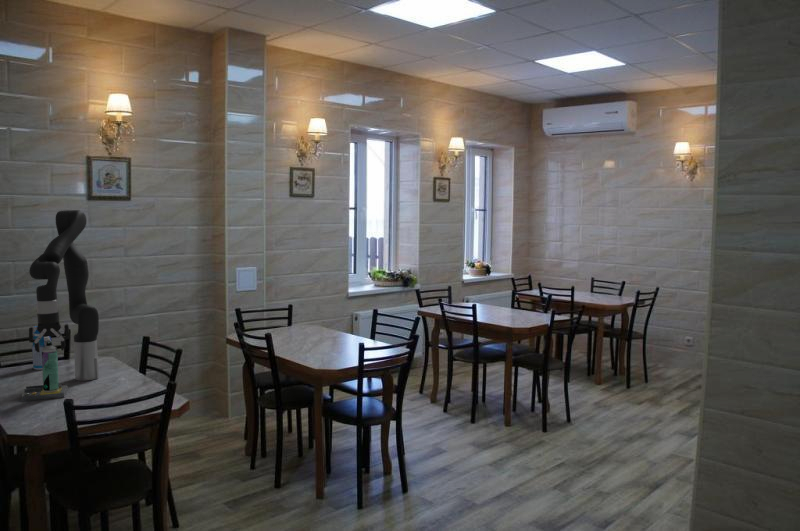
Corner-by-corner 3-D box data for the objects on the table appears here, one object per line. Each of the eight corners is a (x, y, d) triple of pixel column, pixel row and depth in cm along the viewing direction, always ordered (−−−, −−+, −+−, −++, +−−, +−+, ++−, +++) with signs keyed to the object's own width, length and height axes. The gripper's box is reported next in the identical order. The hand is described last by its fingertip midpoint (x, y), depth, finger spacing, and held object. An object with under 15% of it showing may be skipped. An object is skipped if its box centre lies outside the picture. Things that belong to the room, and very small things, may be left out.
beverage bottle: (32, 370, 297) (30, 328, 295) (33, 366, 304) (31, 325, 303) (52, 368, 301) (51, 327, 299) (53, 364, 308) (51, 324, 306)
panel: (67, 389, 267) (67, 382, 267) (64, 397, 257) (63, 390, 257) (26, 393, 262) (26, 386, 262) (21, 401, 251) (21, 394, 251)
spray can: (55, 387, 262) (53, 340, 260) (61, 390, 258) (59, 341, 257) (41, 390, 258) (38, 342, 256) (47, 393, 254) (44, 344, 252)
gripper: (68, 308, 261) (71, 347, 263) (28, 311, 255) (31, 350, 257) (66, 311, 254) (69, 351, 256) (25, 314, 248) (28, 354, 250)
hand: (50, 350), depth 256 cm, fingers open, 8 cm apart
